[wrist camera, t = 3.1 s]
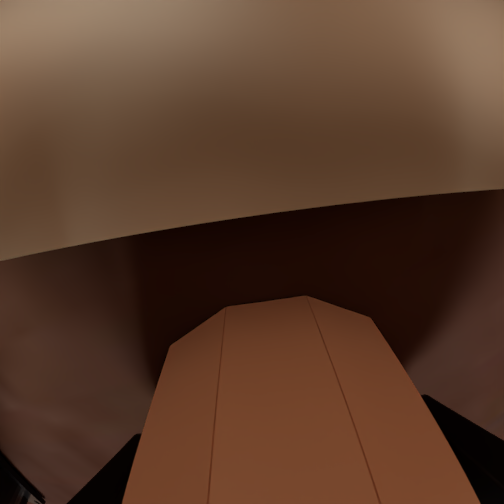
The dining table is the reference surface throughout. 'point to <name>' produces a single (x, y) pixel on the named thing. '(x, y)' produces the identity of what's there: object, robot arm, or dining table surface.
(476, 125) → the duct mount
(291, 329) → the collar sleeve
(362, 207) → the dining table surface
